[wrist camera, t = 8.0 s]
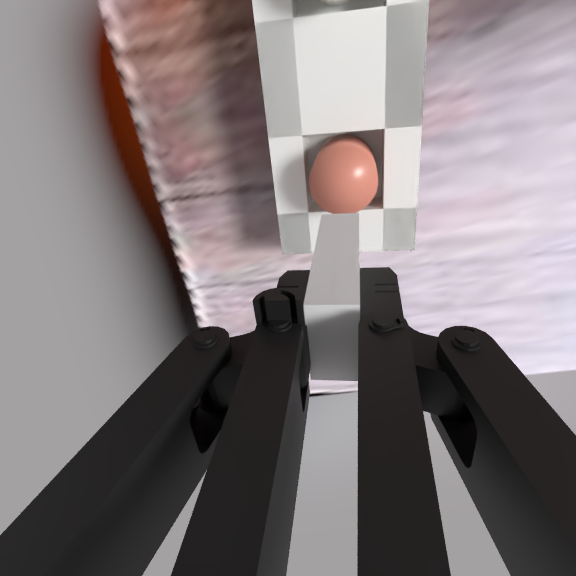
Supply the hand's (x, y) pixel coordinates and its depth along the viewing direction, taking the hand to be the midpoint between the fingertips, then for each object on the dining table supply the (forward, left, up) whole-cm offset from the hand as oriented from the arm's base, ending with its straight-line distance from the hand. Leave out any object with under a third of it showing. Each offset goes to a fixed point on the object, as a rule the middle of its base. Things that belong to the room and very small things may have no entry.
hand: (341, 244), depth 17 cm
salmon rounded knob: (0, 0, -15) cm, 15 cm away
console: (-5, 0, -17) cm, 18 cm away
